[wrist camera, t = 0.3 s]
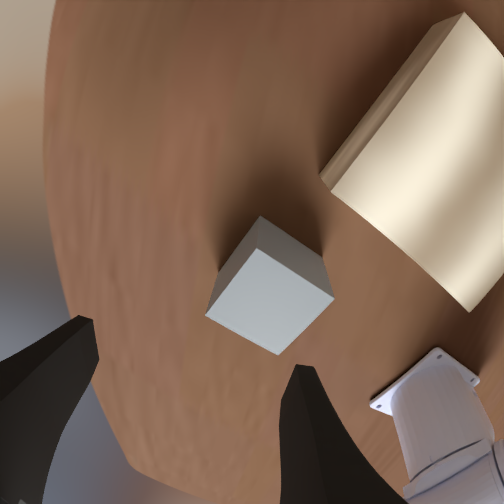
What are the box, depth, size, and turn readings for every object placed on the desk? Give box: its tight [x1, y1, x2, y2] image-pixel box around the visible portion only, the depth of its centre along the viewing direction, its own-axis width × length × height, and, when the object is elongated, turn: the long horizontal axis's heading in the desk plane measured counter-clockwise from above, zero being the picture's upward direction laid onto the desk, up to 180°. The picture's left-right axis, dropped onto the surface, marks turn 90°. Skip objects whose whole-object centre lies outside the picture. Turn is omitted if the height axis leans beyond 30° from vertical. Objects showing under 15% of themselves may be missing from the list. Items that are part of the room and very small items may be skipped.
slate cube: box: [205, 216, 335, 355], centre depth 17 cm, size 4×4×4 cm
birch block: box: [319, 12, 504, 313], centre depth 14 cm, size 12×12×4 cm
